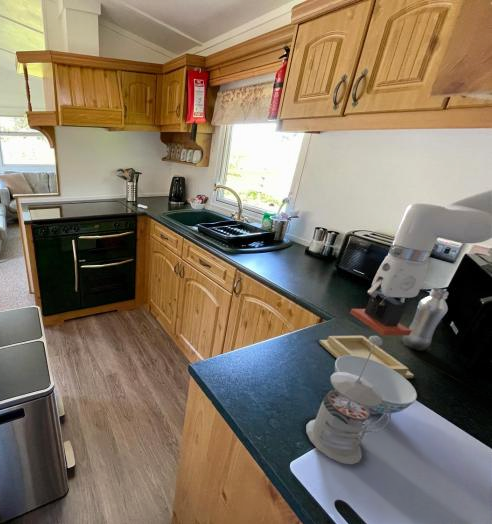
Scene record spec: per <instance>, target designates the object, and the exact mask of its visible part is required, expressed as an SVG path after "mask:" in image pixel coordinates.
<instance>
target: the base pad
mask: <svg viewBox="0 0 492 524" xmlns="http://www.w3.org/2000/svg"><path fill="white" fill-rule="evenodd" d="M368 339H369V338H367V337H366V336H364V335H328V336H327V338H326V339H319V342H318V343H319V344H320V345H321V346H322V347H323V348H324V349H326V351H328V353H329V354H331V355H332V356H333V357H334V358H336V360H337V359H338V358H339V357H341V356H346V355H352V356H359V357H364V358H368V356H369V353H370V351H371V349H372V346H373V344H372V343H370V342H369V340H368ZM369 359H371V360H374V361H376V362H379V363H381V364H383V365H385V366H387V367H389V368H391V369H393V370H394V371H396V372H397V373H399V374H400V375H402V376H403V377H404V378H405V379H413V378H414V377H415V375H414V373H412V372H411V371H410V370H409V368H408V367H407V366H406V365H404V364H403V363H402V362H400V361H398V359H396V358H395V357H393V356H392V355H391V354H389V353H387V352H386V351H385V350H383V349H382V348H380V346H379V345H374V348H373V350H372V352H371V355H370V357H369Z"/></svg>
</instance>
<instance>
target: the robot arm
mask: <svg viewBox="0 0 492 524" xmlns="http://www.w3.org/2000/svg"><path fill="white" fill-rule="evenodd" d="M438 238H442V239H446V240H450V241H454V242H457V243H461V244H478V243H479V244H480V243H483V242H486V241H489V240H490V239H492V189H490V190H486V191H483V192H480V193H476V194H474V195H471V196H468V197H465V198H462V199H460V200H457V201H454V202H452V203H449V204H446V205H444V206H441V205H436V204H431V203H430V204H429V203H411V204H410V205H408V206H407V208H406V210H405V212H404V214H403V217H402V219H401V222H400V224H399V227H398V228H397V231H396V234H395V235H394V239H393V241H392V244H391V245H390V248H389V249H388V254H387V255H386V256H385V257H384V260H383V261H382V262H381V264H380V265H379V268H378V269H377V271H376V274H375V276H374V278H373V280H372V283H371V287H370V288H369V289H368V290H367V292H366V293H367V294H368V295H369V296H370V297H372V298H373V299H372V300H373V301H374V302H373V304H372V307H371V309H370V312H369V313H370V314H371V315H373V316H374V317H376V318H377V319H381V317H382V315H383V313H384V310H385V308H386V306H384V305H385V303H386V302H387V300H388V298H389V297H392V298H394V299H396V300H398V301H400V302H402V303H404V304H405V302H406V301H408V300H409V299H410V298H415V297H417V296H418V295H419V293H420V291H421V289H422V286H423V284H424V281H425V278H426V276H427V275H426V274H427V272H428V267H429V261H428V260H429V259H430V256H431V254H432V252H433V249H434V247H435V245H436V243H437V241H438ZM380 295H382V296H383V298H381V296H380Z"/></svg>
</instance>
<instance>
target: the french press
mask: <svg viewBox="0 0 492 524" xmlns="http://www.w3.org/2000/svg"><path fill="white" fill-rule="evenodd" d="M367 339H368V340H369V342H370V343H372V344H373V346H372V349H371V351H370V353H369V356H368V358H367V360H366V363H365V365H364V367H363V370H362V372H361V374H360V377H359V376H356V375H353V374H350V373H346V372H337V373H335V372H333V373H332V374H331V375H330V383H331V385H332V387H333V388H334V389H332V390H329V391H328V392H327V393H326V395H325V396H324V397H323V399H322V402H321V404H320V407H319V410H318V412H317V415H316V417H315V419H312V420H309V422H308V423H307V424H306V426H305V427H306V428H305V429H306V431H305V433H306V434H307V436H308V438H309V441H310V442H311V444H313V446H314V447H315V448H316V449H317V450H318V451H319V452H321V453H322V454H323V455H325V456H326V457H327V458H329V459H331V460H334V461H336V462H338V463H340V464H346V465H354V464H357V463H360V461H361V459H362V457H363V453H362V448H361V446H360V444H361V442H362V440H363V438H364V436H365V434H368V433H377V432H380V431H382V430H384V429H385V428H386V427H387V426H388V425H389V424H390V421H391V420H392V413H390V411H389V409H388V408H387V407H386V404H385V403H384V401H383V400H382V396H381V393H380V392H379V391H378V390H377V389H376V388H375V387H374V386H373V385H372V384H370V383H369V382H367V381H366V380H365V379H363V378H362V377H361V376H362V373H363V371H364V369H365V366H366V364H367V362H368V359H369V357H370V355H371V352H372V350H373V348H374V345H376V346H378V347H380V346H382V345H383V340H382V338H381V337H380V336H378V335H371V336H368V338H367ZM381 402H383V404H382V403H381ZM379 404H381V405H383V406H384V407H385V411H384V413H382V416H381V417H380V418H379V419H378V420H376V421H374V422H371V419H370V418H371V417H372V414H371V412H370V409H369V408H368V407H367V406H370V407H372V406H375V407H377V406H378V405H379ZM386 409H387V410H388V413H389V414H388V419H387V421H386V423H385V424H384V425H383V426H381V427H380V428H377V429H374V430H368V428H369V426H371V425H376V424H377V423H379V422H380V421H382V420H383V419H384V418H385V416H386V414H385V413H386ZM334 410H335V411H334ZM339 417H340V418H339ZM341 418H342V419H343V420H344V421H343V420H342V419H341ZM365 421H366V422H365ZM364 422H365V423H364ZM357 438H358V439H357Z"/></svg>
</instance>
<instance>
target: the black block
mask: <svg viewBox="0 0 492 524" xmlns="http://www.w3.org/2000/svg"><path fill="white" fill-rule="evenodd" d="M380 296H381V298H383V296H382V295H380ZM372 299H373V298H372V297H371V296H370V297H369V300H368V302H367V305H366V306H365V308H351V309H350V312H349V314H350V315H351V316H353V317H354V318H356V319H358V320H359V321H360V322H362V323H363V324H364V325H367V327H370V328H371V329H373V330H374V331H375V332H377V333H378V334H380V335H381V336H397V337H398V336H399V337H400V336H403V335H410V333H411V330H410V329H409V327H406V326H405V325H403V324H402V323H400V320H401V318H402V316H403V315H404V312H405V310H406V308H407V304H406V303H405V302H404V303H402V302H400V301H398V300H396V299H394V298H392V297H389V298H388V300H387V302H386V303H385V305H384V306H386V308H385V310H384V313H383V315H382V317H381V319H377V318H376V317H374V316H373V315H371V314H370V313H369V312H370V309H371V307H372V304H373V302H374V301H373V300H372Z"/></svg>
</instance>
